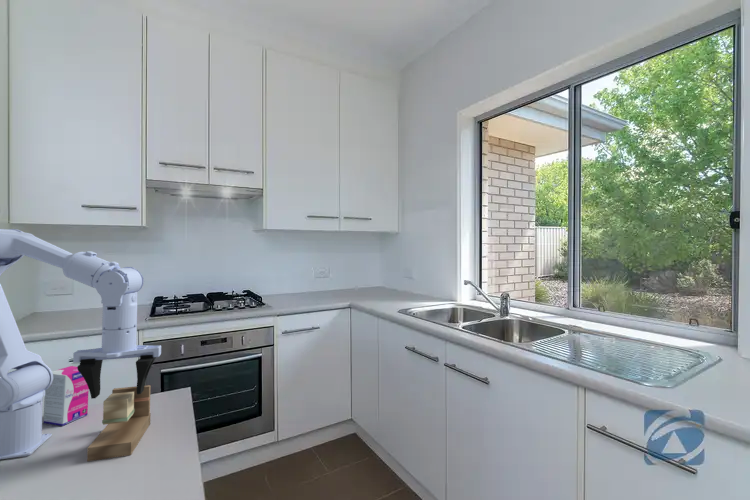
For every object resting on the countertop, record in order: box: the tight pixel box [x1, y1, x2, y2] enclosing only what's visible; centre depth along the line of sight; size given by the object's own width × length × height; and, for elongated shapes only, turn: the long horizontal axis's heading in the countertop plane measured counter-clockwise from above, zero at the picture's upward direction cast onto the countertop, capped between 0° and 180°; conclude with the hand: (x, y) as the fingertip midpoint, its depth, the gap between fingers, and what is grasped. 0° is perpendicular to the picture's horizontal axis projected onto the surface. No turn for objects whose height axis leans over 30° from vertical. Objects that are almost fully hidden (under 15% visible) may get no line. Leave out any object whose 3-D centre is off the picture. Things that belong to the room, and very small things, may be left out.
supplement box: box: [42, 365, 90, 427], centre depth 82 cm, size 6×6×12 cm
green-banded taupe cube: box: [101, 392, 134, 426], centre depth 71 cm, size 4×4×4 cm
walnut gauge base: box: [86, 384, 152, 462], centre depth 73 cm, size 7×13×9 cm, turn 19°
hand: (118, 394), depth 71 cm, fingers open, 7 cm apart
